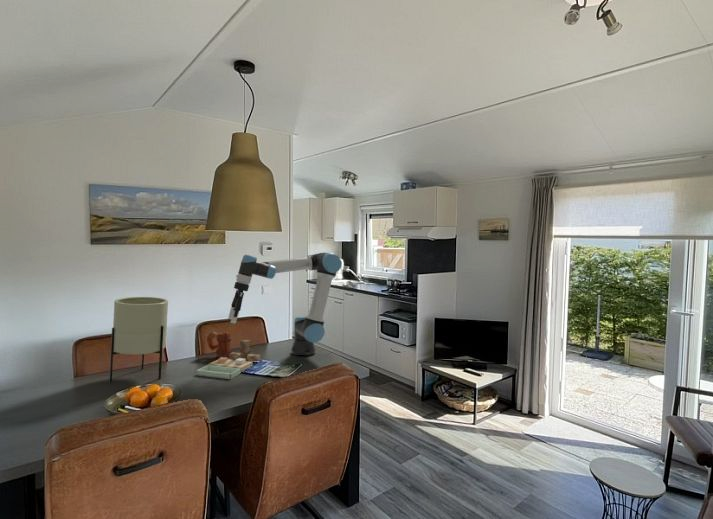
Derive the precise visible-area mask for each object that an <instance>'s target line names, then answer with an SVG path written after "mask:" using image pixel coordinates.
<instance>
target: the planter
mask: <svg viewBox="0 0 713 519" xmlns="http://www.w3.org/2000/svg"><path fill="white" fill-rule="evenodd" d="M113 304H114V305H113V320H112V321H113V323H112V324H113V326H112V328H111V340H110V341H111V342H110V360H109V362H110V363H109V378H108V379H109V381H108V382H109V384H110V383H111V382H112V383H113V363H114V355H119V354H121V355H131V356H132V355H136V356H137V355H141V357H142V358H141V370H142V369H143V368H144V369H145V367H144V366H145V355H147V354H153V353H154V354H159V358H158V359H159V360H158V361H159V362H158V376H157V377H158V380H161V379H162V364H163V363H162V362H163V350H164V349H165V348H166V345H167V344H166V343H167V329H168V328H167V326H168V325H167V324H168V309H169V307H168V306H169V300H168V299H166V298H162V297H155V296H135V297H134V296H133V297H132V296H131V297H122V298H118V299H115V300H114V303H113ZM144 369H143V370H144ZM112 383H111V384H112Z"/></svg>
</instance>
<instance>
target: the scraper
mask: <svg viewBox="0 0 713 519" xmlns="http://www.w3.org/2000/svg"><path fill="white" fill-rule="evenodd" d="M239 347H240V348H239V351H240V352H236V351H235V352H234V351H233V352H232V351H231V353H230V356H229V359H230V360H236V359H238V358H243V359H246V361H249V362H253V361H258V360H260V361H261V354H253V353H251V340H250V339H242V340H240V341H239Z"/></svg>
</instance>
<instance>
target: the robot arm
mask: <svg viewBox="0 0 713 519" xmlns="http://www.w3.org/2000/svg"><path fill="white" fill-rule="evenodd" d="M257 259H258V257H257V256H254V255H250V254H249V255H248V254H244V255H242V260H241V261H240V266H239V270H238V273H237V274H236V281H235V283H234V287H233V289H234V290H235V294H234V297H233V299H232V302H231V307H230V310H229V314H228V318H227V319H229V320H230V323H232V324H237V321H238V317H239V313H240V311H241V308H242V304H243V299H244V296H245V293H244V292H248V291H249V288H250V284H251V282H252V278H253V275H255V276H258V277H263V278H266V279H270V280H271V279H274V278H275V276H276V274H280V273H281V274H282V273H289V272H295V271H303V270H304V271H305V270H308V271H316V275H317V279H316V285H315V289H314V292H313V296H312V301H311V304H310V309H309V313H308V315H304V316H296V317H295V318H294V322H293V323H294V332H293V336H294V338H293V339H294V340H293V344H292V347H291V350H290V353H292V354H295V355H294V356H296V355H310V356H312V355H311V354H314V353H315V352H316V350H317V349H316V346H315V344H316V343H319V342H320V341H322V340H323V339H324V336H325V334H326V332H325V328H324V324H325V320H324V314H325V309H326V306H327V301H328V297H329V294H330V289H331V285H332V282H333V279H334V278H336V276H337V272H339V271H340V270H341V268H342V260H341V258H340V256H339V255H337V254H336V253H334V252H319V253H315V254H308V255H307V256H304V257H298V258H297V257H296V258H289V259H288V258H287V259H278V260H271V261H263V262H260V261H258V260H257ZM292 354H291V355H292ZM315 354H316V353H315ZM315 354H314V355H315Z"/></svg>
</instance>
